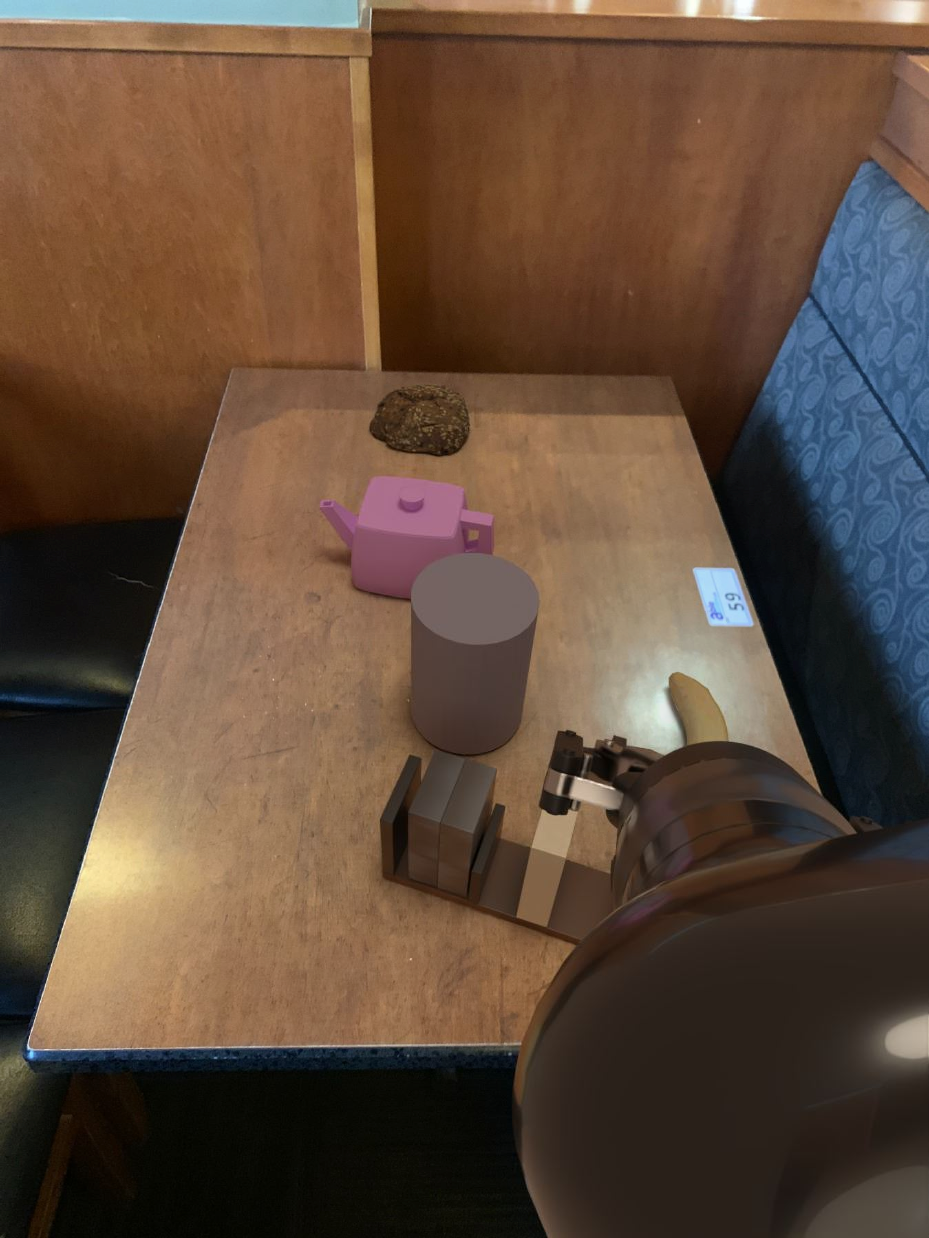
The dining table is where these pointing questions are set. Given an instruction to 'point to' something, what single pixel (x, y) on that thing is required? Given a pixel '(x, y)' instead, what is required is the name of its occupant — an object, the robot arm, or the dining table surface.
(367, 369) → the dining table surface
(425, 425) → the bread roll
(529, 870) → the cream book
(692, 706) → the fruit
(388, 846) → the book rack
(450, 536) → the teapot
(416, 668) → the grey upright cylinder
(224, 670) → the dining table surface
